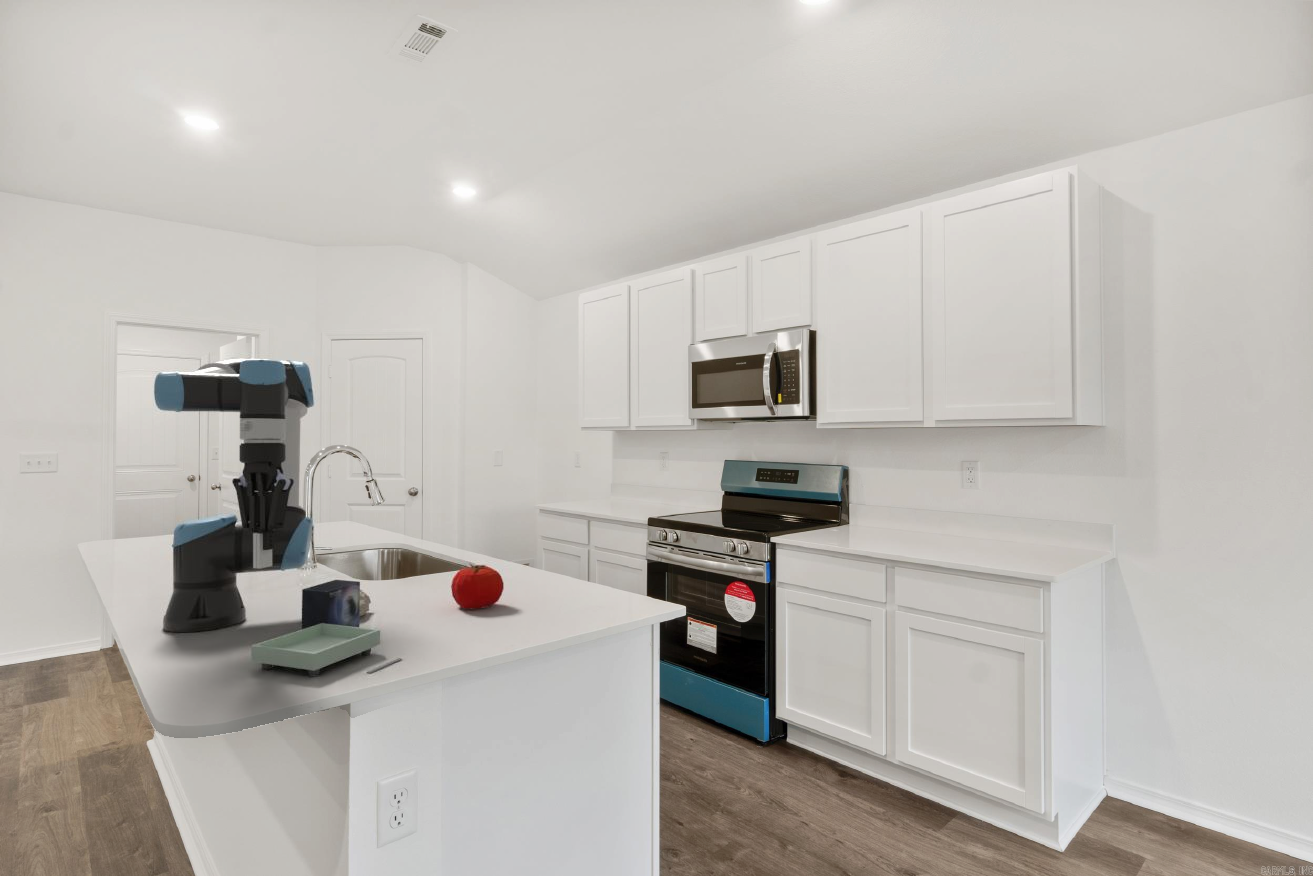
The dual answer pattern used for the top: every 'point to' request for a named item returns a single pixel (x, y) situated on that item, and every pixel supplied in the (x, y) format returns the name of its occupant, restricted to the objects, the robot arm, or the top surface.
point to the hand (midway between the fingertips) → (262, 566)
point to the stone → (364, 603)
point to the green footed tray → (315, 647)
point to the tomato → (477, 587)
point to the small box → (331, 604)
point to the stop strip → (384, 665)
